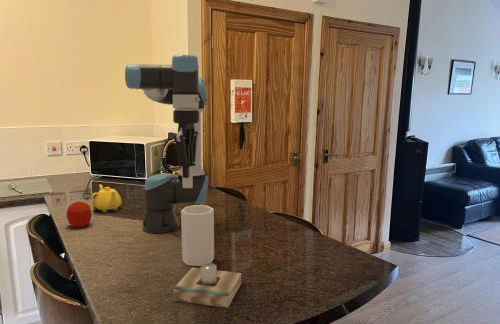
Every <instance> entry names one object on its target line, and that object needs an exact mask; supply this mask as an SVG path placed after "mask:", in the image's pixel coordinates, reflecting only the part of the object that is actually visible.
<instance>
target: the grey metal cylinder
mask: <svg viewBox="0 0 500 324" xmlns="http://www.w3.org/2000/svg"><path fill="white" fill-rule="evenodd" d="M200 268H201V285H206V286H214V287H215V286H216V284H217V264H215V263H213V262H212V263H206V264H203V265H201V266H200Z"/></svg>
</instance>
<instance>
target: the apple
mask: <svg viewBox="0 0 500 324" xmlns="http://www.w3.org/2000/svg"><path fill="white" fill-rule="evenodd" d="M91 207H92V206H91V205H90V204H89V203H88V202H85V201H79V200H78V201H74V202H73V203H71V204H70V205H68V208H67V209H66V219H67V221H68V222H67V223H68V224H69V225H71V226H72V227H74V228H76V229H78V228H79V229H80V228H83V227H85V226H86V225H88V224H89V223H90V222H91V219H92V215H93V214H92V213H93V212H92V208H91Z"/></svg>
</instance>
